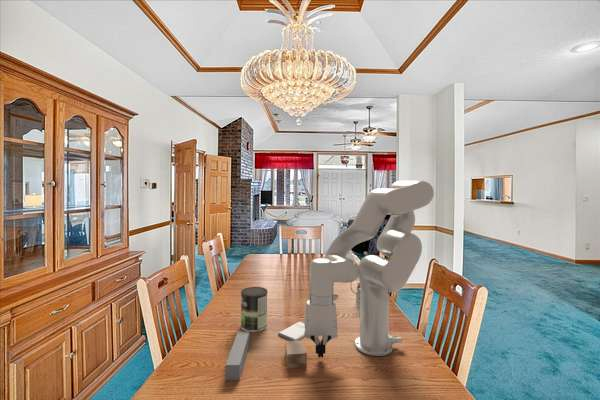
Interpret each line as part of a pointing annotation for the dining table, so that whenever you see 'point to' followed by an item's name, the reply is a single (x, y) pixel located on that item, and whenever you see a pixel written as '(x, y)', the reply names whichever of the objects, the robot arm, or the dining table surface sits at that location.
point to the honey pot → (350, 255)
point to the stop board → (237, 356)
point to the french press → (358, 291)
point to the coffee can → (254, 309)
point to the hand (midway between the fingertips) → (320, 355)
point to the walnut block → (295, 354)
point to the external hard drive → (294, 332)
